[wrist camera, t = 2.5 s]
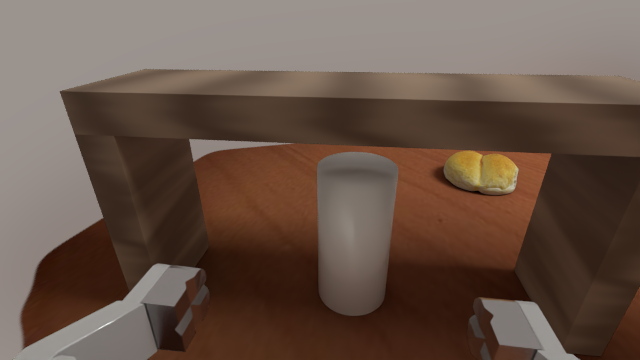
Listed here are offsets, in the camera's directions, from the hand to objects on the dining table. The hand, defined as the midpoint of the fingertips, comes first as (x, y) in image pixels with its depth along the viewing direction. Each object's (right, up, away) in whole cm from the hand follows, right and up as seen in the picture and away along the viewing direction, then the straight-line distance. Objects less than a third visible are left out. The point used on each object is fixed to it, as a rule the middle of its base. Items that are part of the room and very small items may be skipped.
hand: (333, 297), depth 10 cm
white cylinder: (+2, -5, +17) cm, 18 cm away
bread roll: (+21, +3, +35) cm, 41 cm away
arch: (+2, -5, +17) cm, 18 cm away
